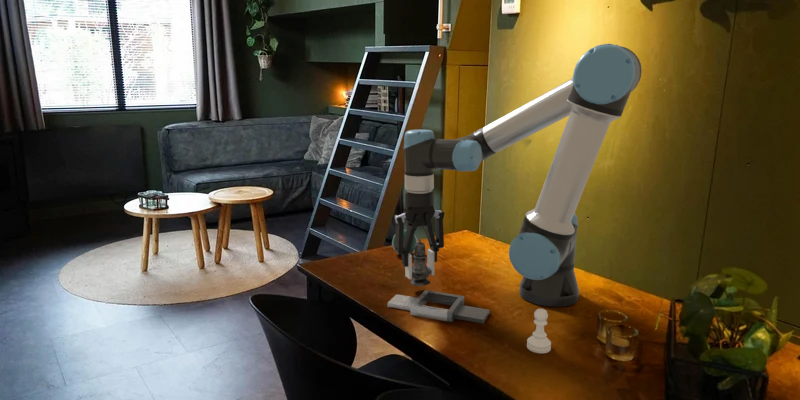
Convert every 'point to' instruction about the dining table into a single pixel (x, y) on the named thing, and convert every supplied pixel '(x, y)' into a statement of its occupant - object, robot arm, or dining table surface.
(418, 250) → the grey chess piece
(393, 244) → the sphere
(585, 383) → the dining table surface
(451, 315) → the flanged square frame
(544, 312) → the chess pawn
